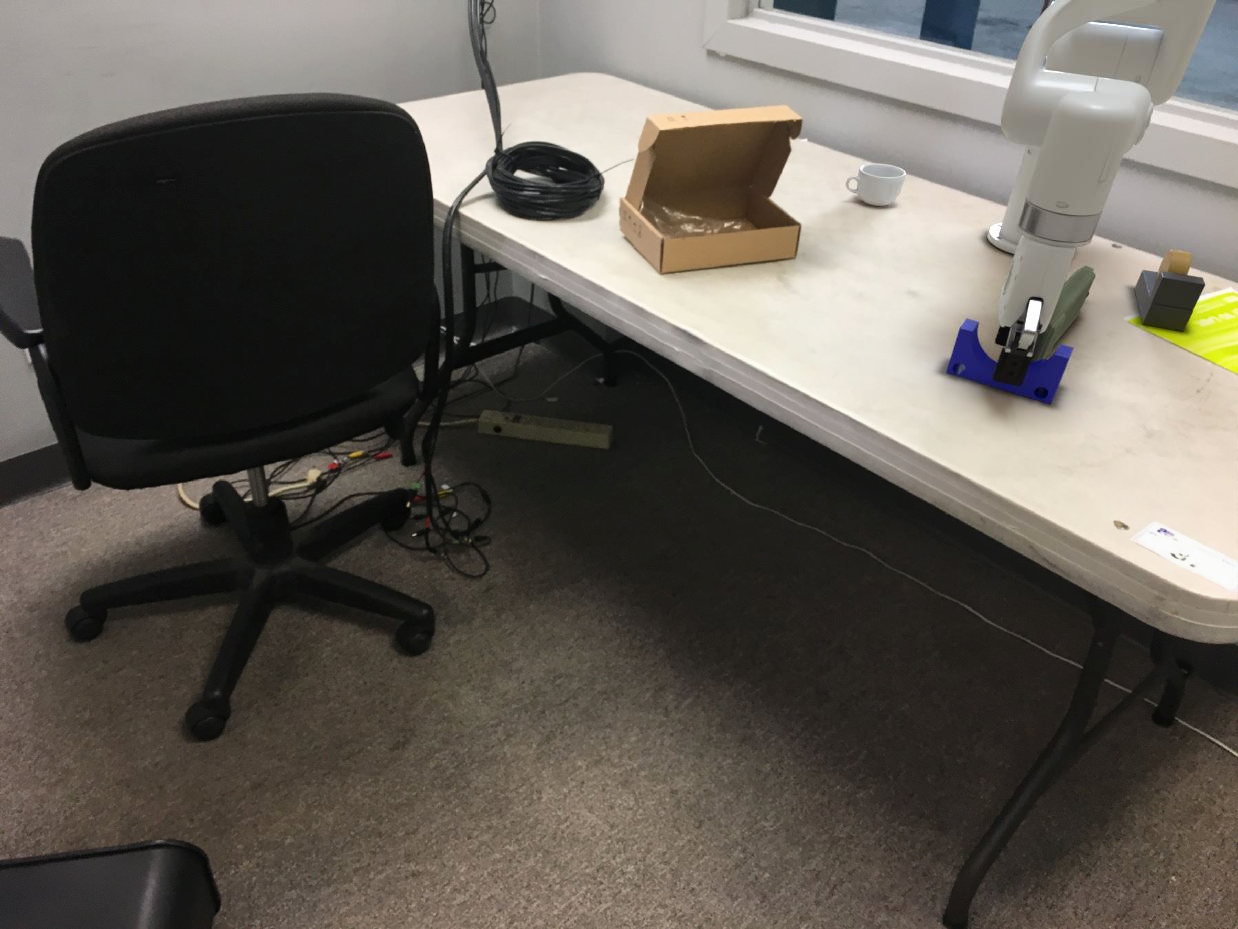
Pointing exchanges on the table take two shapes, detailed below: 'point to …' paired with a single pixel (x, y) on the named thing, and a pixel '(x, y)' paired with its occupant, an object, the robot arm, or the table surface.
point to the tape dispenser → (1169, 292)
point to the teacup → (878, 183)
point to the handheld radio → (1064, 311)
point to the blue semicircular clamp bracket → (980, 367)
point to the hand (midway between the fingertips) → (1007, 363)
